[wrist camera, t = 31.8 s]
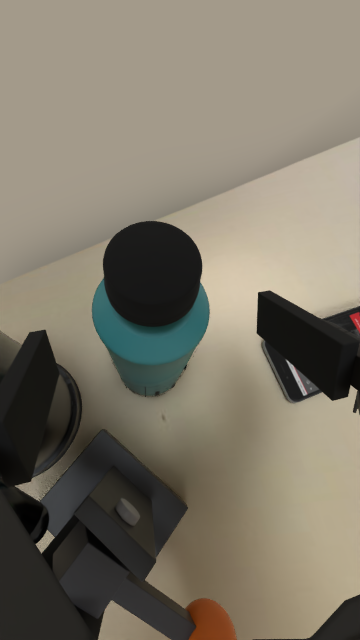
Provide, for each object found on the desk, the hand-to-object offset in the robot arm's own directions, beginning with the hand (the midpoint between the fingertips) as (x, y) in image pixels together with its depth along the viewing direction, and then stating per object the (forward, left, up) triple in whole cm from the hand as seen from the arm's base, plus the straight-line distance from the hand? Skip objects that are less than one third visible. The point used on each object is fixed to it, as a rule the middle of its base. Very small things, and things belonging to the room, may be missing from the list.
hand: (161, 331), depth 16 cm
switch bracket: (-12, 0, -14) cm, 18 cm away
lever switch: (-13, -4, -6) cm, 15 cm away
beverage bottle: (+1, +1, -14) cm, 14 cm away
